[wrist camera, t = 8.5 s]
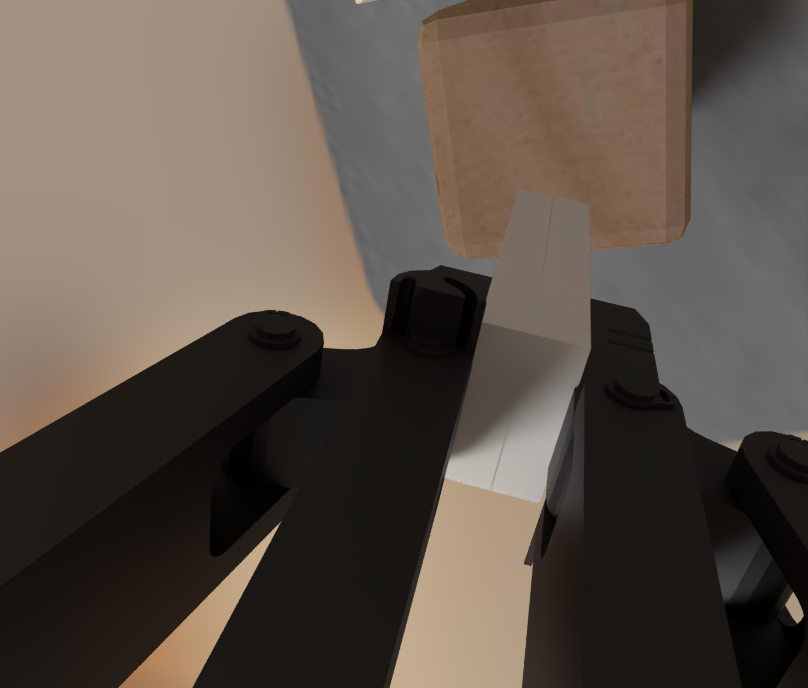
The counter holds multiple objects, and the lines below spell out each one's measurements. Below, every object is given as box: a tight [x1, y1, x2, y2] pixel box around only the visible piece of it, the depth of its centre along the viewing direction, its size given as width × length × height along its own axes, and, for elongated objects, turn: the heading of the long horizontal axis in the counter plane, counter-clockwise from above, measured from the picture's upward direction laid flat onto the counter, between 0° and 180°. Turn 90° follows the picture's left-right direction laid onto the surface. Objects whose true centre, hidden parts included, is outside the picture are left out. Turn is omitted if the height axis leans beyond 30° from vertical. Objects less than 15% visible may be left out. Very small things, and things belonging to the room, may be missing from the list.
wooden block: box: [417, 0, 693, 259], centre depth 37 cm, size 10×10×20 cm
